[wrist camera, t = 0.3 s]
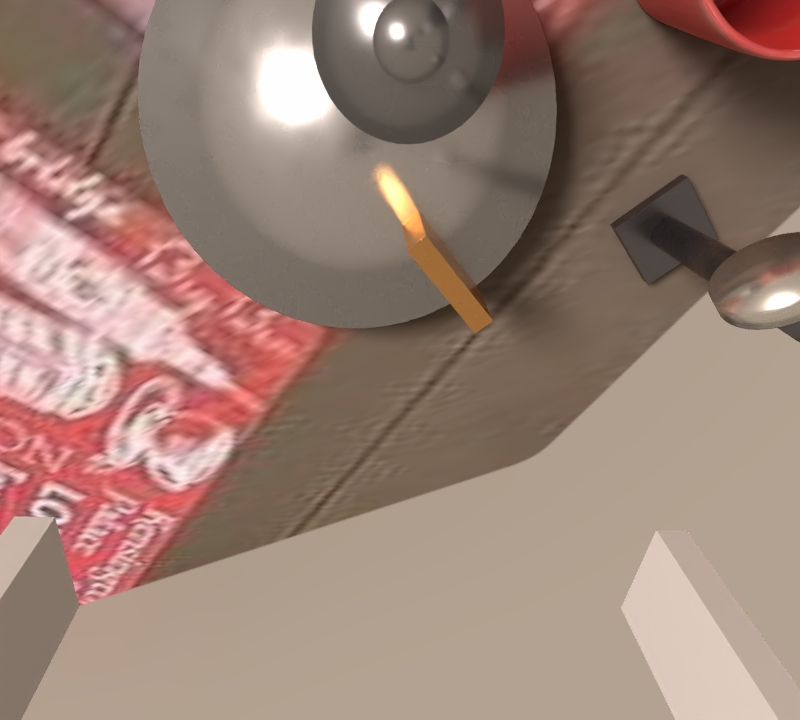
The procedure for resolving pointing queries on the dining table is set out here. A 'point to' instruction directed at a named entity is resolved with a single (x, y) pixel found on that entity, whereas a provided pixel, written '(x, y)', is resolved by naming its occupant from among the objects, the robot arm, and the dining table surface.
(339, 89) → the cover
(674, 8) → the flower pot
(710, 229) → the dial post
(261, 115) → the turntable
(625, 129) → the dining table surface
